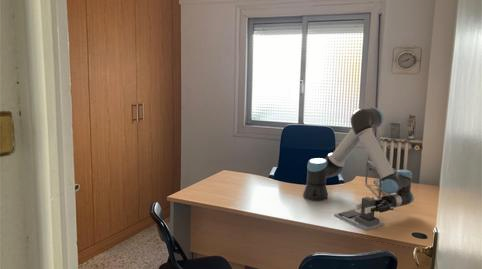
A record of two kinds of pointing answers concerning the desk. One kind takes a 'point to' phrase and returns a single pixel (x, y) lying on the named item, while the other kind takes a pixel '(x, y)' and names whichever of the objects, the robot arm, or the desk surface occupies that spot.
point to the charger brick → (366, 203)
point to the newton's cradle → (376, 181)
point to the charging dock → (358, 220)
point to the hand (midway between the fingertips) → (360, 209)
